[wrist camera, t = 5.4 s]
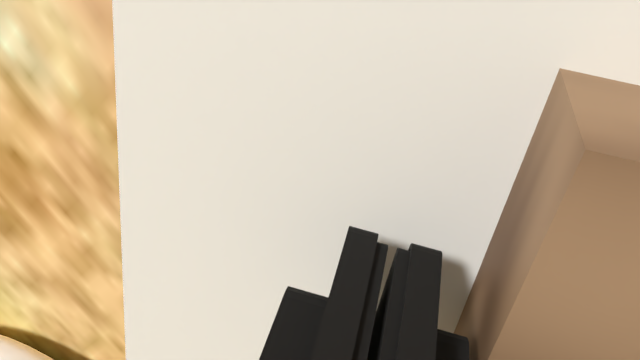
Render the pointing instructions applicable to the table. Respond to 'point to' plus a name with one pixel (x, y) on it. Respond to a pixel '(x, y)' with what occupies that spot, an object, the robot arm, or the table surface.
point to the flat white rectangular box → (324, 145)
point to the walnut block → (567, 235)
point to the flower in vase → (18, 350)
